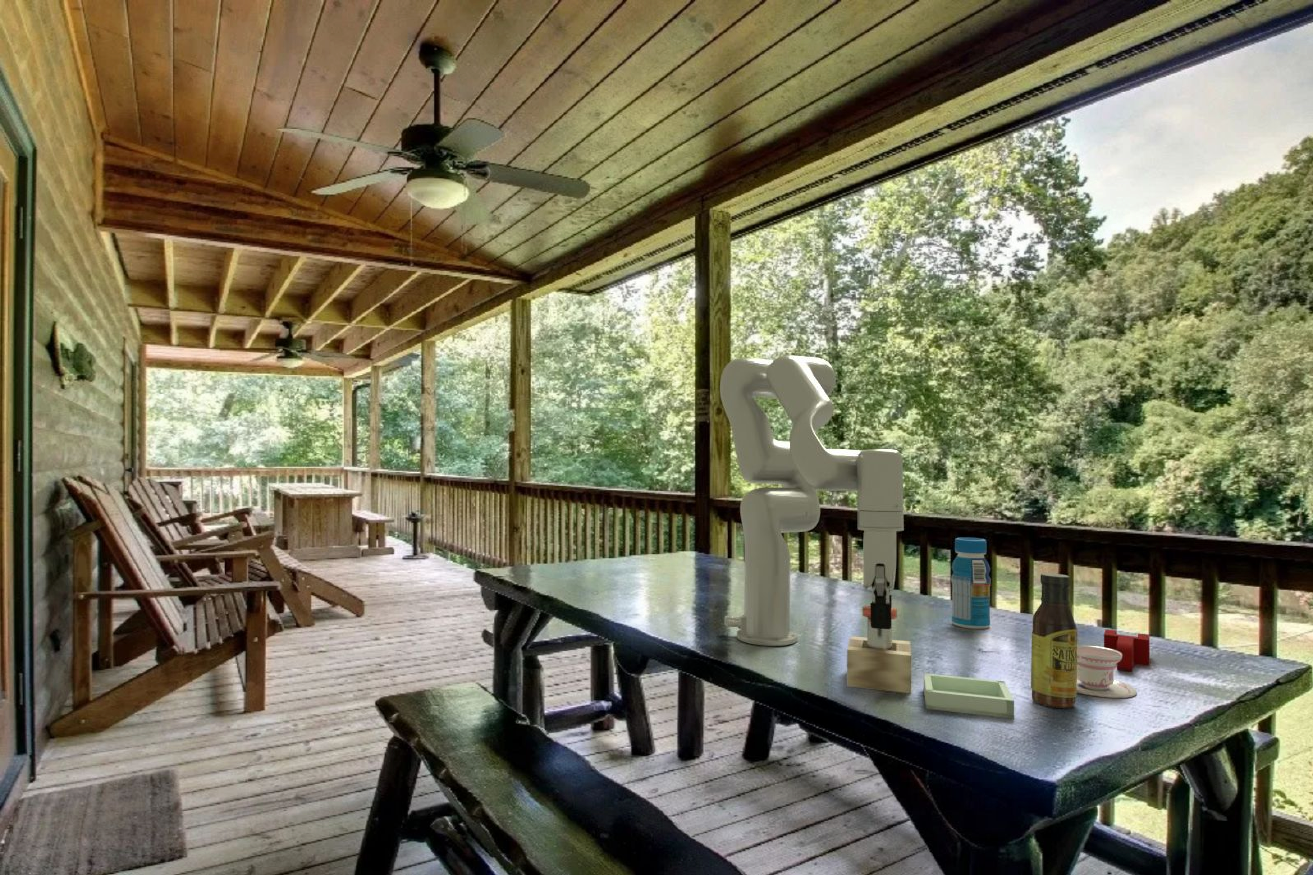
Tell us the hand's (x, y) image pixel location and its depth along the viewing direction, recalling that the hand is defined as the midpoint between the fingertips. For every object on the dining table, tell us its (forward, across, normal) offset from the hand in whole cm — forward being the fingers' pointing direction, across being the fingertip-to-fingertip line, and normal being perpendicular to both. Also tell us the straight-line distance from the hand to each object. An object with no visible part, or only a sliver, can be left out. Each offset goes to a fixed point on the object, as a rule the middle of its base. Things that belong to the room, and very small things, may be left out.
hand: (881, 622), depth 121 cm
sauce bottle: (+11, +2, +26) cm, 28 cm away
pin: (+10, 0, 0) cm, 10 cm away
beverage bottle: (+10, -54, +18) cm, 57 cm away
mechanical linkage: (+11, -30, +44) cm, 54 cm away
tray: (+10, +6, +12) cm, 17 cm away
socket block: (+10, 0, 0) cm, 10 cm away
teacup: (+11, -10, +34) cm, 37 cm away
